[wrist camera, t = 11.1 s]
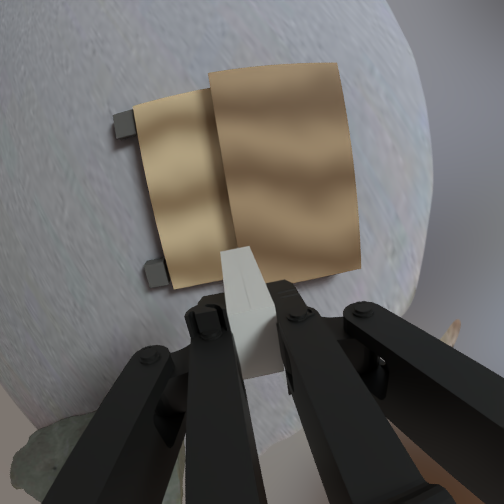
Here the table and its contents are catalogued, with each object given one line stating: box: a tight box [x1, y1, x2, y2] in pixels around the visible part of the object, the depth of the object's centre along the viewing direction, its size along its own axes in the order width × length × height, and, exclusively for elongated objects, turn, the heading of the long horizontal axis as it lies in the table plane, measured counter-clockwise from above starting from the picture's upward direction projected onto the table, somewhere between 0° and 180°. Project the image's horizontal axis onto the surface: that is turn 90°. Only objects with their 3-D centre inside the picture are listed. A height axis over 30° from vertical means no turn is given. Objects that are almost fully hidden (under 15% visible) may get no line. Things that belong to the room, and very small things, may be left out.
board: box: [208, 63, 361, 283], centre depth 28 cm, size 20×12×4 cm, turn 9°
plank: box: [133, 88, 238, 289], centre depth 28 cm, size 18×9×5 cm, turn 10°
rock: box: [10, 411, 186, 504], centre depth 26 cm, size 27×6×20 cm, turn 111°
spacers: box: [113, 109, 170, 288], centre depth 28 cm, size 17×2×2 cm, turn 9°
